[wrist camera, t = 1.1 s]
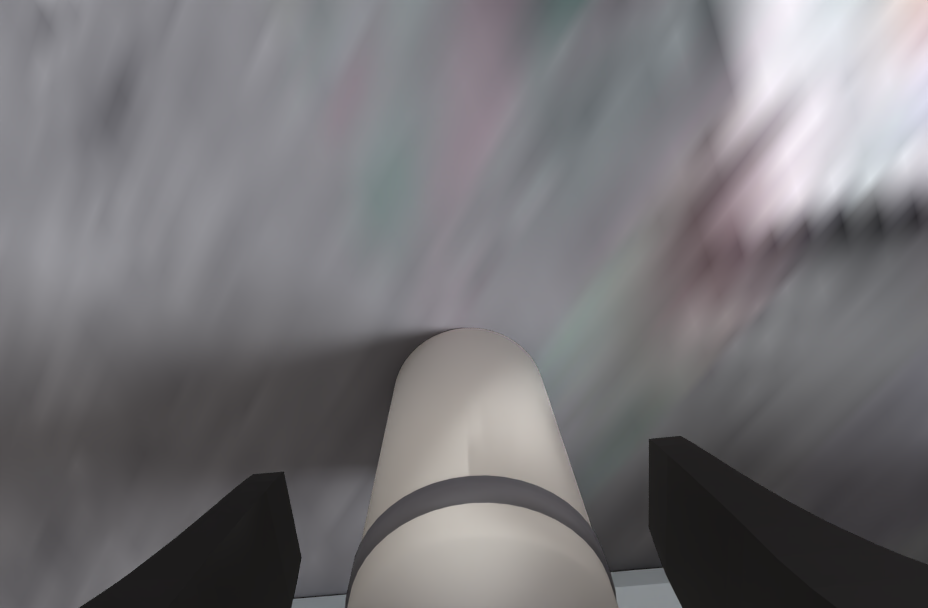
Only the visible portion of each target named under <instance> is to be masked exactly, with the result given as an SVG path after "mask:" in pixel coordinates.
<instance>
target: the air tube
mask: <svg viewBox="0 0 928 608" xmlns="http://www.w3.org/2000/svg"><path fill="white" fill-rule="evenodd" d="M345 608H619V607H618V604H617V601H616V590H615V587H614V583H613V579H612V576H611V573H610V570H609V567H608V564H607V561H606V558H605V555H604V552H603V549H602V547H601V545H600V542H599V540H598V538H597V536H596V534H595V533H594V531H593V529H592V527H591V524H590V521H589V518H588V515H587V512H586V509H585V506H584V503H583V500H582V497H581V494H580V491H579V488H578V485H577V482H576V479H575V476H574V473H573V470H572V467H571V464H570V461H569V458H568V455H567V452H566V449H565V446H564V443H563V440H562V437H561V434H560V431H559V428H558V425H557V422H556V419H555V416H554V413H553V410H552V407H551V404H550V401H549V398H548V395H547V392H546V389H545V386H544V383H543V380H542V377H541V375H540V372H539V370H538V368H537V366H536V364H535V362H534V361H533V359H532V358H531V357H530V355H529V354H528V353H527V352H526V351H525V350H524V349H523V348H522V347H521V346H520V345H519V344H517V343H516V342H514V341H513V340H511V339H510V338H508V337H506V336H504V335H502V334H499V333H496V332H494V331H490V330H485V329H478V328H461V329H454V330H450V331H446V332H443V333H440V334H438V335H435V336H433V337H431V338H430V339H428V340H426V341H425V342H423V343H422V344H421V345H419V346H418V347H417V348H416V349H415V350H414V351H413V352H412V353H411V354H410V355H409V356H408V358H407V359H406V360H405V362H404V363H403V365H402V367H401V369H400V371H399V373H398V376H397V378H396V383H395V387H394V392H393V396H392V401H391V406H390V410H389V415H388V420H387V424H386V429H385V434H384V438H383V443H382V448H381V452H380V457H379V462H378V466H377V471H376V476H375V480H374V485H373V490H372V494H371V499H370V504H369V508H368V513H367V518H366V522H365V527H364V532H363V536H362V541H361V543H360V545H359V548H358V550H357V553H356V555H355V559H354V564H353V568H352V572H351V577H350V581H349V586H348V590H347V595H346V601H345Z"/></svg>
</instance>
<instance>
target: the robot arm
mask: <svg viewBox="0 0 928 608" xmlns="http://www.w3.org/2000/svg"><path fill="white" fill-rule="evenodd" d="M649 529H650V532H651V535H652V538H653V541H654V544H655V547H656V549H657V552H658V555H659V558H660V561H661V563H662V566H663V569H664V571H665V574H666V576H667V578H668V580H669V582H670V584H671V586H672V588H673V590H674V592H675V594H676V596H677V598H678V600H679V602H680V604H681V606H682V608H928V565H927V564H924V563H922V562H919V561H916V560H914V559H911V558H908V557H906V556H903V555H901V554H898V553H896V552H893V551H891V550H888V549H886V548H883V547H881V546H879V545H876V544H874V543H872V542H870V541H868V540H865V539H863V538H861V537H859V536H857V535H854V534H852V533H850V532H848V531H845V530H843V529H841V528H839V527H837V526H835V525H833V524H831V523H829V522H827V521H825V520H823V519H821V518H819V517H817V516H815V515H813V514H811V513H809V512H807V511H805V510H804V509H802V508H800V507H798V506H796V505H794V504H792V503H791V502H789V501H787V500H785V499H783V498H782V497H780V496H778V495H776V494H775V493H773V492H771V491H769V490H768V489H766V488H764V487H763V486H761V485H759V484H757V483H756V482H754V481H753V480H751V479H749V478H748V477H746V476H744V475H743V474H741V473H739V472H738V471H736V470H735V469H733V468H731V467H730V466H728V465H727V464H725V463H724V462H722V461H720V460H719V459H717V458H716V457H714V456H713V455H711V454H709V453H708V452H706V451H705V450H703V449H701V448H700V447H698V446H697V445H695V444H693V443H692V442H690V441H688V440H687V439H685V438H683V437H681V436H677V437H666V438H655V439H649ZM300 563H301V553H300V548H299V543H298V539H297V534H296V529H295V524H294V519H293V514H292V509H291V504H290V499H289V495H288V490H287V485H286V480H285V475H284V472H274V473H263V474H253V475H252V476H250V477H249V478H247V479H246V480H245V481H243V482H242V483H241V484H240V485H238V486H237V487H236V488H235V489H234V490H232V491H231V492H230V493H229V494H228V495H226V496H225V497H224V498H223V499H222V500H220V501H219V502H218V503H217V504H216V505H215V506H213V507H212V508H211V509H210V510H209V511H207V512H206V513H205V514H204V515H203V516H201V517H200V518H199V519H198V520H197V521H196V522H194V523H193V524H192V525H191V526H190V527H188V528H187V529H186V530H185V531H184V532H182V533H181V534H180V535H179V536H177V537H176V538H175V539H174V540H172V541H171V542H170V543H168V544H167V545H166V546H165V547H163V548H162V549H161V550H159V551H158V552H157V553H156V554H154V555H153V556H152V557H150V558H149V559H148V560H146V561H145V562H144V563H143V564H141V565H140V566H139V567H137V568H136V569H135V570H133V571H132V572H131V573H129V574H128V575H127V576H125V577H124V578H123V579H121V580H120V581H118V582H117V583H115V584H114V585H113V586H111V587H110V588H108V589H107V590H105V591H104V592H102V593H101V594H99V595H98V596H96V597H95V598H93V599H92V600H90V601H89V602H87V603H86V604H84V605H83V606H81V607H80V608H291V607H292V602H293V598H294V593H295V589H296V584H297V579H298V573H299V568H300Z"/></svg>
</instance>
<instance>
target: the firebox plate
mask: <svg viewBox="0 0 928 608" xmlns="http://www.w3.org/2000/svg"><path fill="white" fill-rule="evenodd" d="M610 573H611V576H612V579H613V583H614V587H615V590H616V601H617V604H618V607H619V608H682V606H681V604H680V602H679V600H678V598H677V596H676V594H675V592H674V590H673V588H672V586H671V584H670V582H669V580H668V578H667V576H666V574H665V571H664V569H663V568H654V569H642V570H630V571H619V572H610ZM346 595H347V594H346ZM346 595H334V596H323V597H311V598H299V599H293V602H292V607H291V608H345V601H346Z"/></svg>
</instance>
